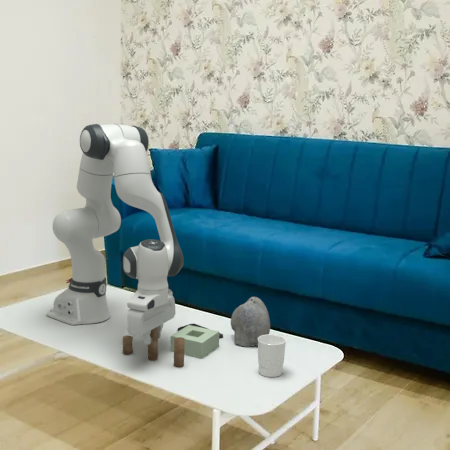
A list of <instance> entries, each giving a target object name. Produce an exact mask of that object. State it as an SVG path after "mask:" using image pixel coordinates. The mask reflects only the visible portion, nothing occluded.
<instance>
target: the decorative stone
mask: <svg viewBox="0 0 450 450" xmlns="http://www.w3.org/2000/svg"><path fill="white" fill-rule="evenodd" d="M230 327H231V329H232V331H233V332H234V343H235V344H236V345H238V346H240V347H243V348H244V347H245V348H249V347H252V346H258V337H260V336H262V335H267V334H270V332H271V320H270V314H269V311H268V308H267V306H266V304H265V303H264V301H262V299H261V298H259V297H257V296H251V297H250V298H248V299H247V301H245V303H243V304H240V305H239V306H238V307H236V308H235V309H234V311H233V312H232V315H231V317H230Z"/></svg>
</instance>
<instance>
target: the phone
mask: <svg viewBox="0 0 450 450" xmlns="http://www.w3.org/2000/svg"><path fill="white" fill-rule="evenodd" d="M188 325H191V326H196V327H201V328H206V329H209V328H207V327H204V326H202V325H199V324H196V323H189V324H185V325H183V326H182V325H181V326H180V327H178V328H177V332H178V331H180V330H181V329H183V328H185V327H186V326H188ZM223 338H224V334H223V333H221V332H219V340H220V339H223Z"/></svg>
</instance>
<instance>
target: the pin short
mask: <svg viewBox="0 0 450 450" xmlns="http://www.w3.org/2000/svg"><path fill="white" fill-rule="evenodd" d="M133 337H134V336H132V335H124V336H122V354H123V355H125V356H130V355H132V354H133V353H134V346H133V345H134V340H133Z"/></svg>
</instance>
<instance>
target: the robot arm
mask: <svg viewBox="0 0 450 450" xmlns="http://www.w3.org/2000/svg"><path fill="white" fill-rule="evenodd" d="M149 141H150V140H149V136H148V133H147V131H146V130H145V129H144V128H142V127H140V126H137V125H127V124H121V123H112V124H108V123H107V124H106V123H105V124H104V123H103V124H98V123H93V124H89V125H86V126H85V127H84V128H83V129H82V131H81V133H80V136H79V147H80V150H81V151H82V155H81V159H80V164H79V168H78V175H77V182H76V183H77V184H76V190H77V192H78V194H80V196H81V197H83V198H84V199H85V206H84V207H80V208H73V209H68V210H65V211H62V212H60V213H57V214H56V215H55V217H54V218H53V220H52V232H53V234H54V236H55V238H56V239H57V240H58V241H60V242H61V243H63V245H64V246H66V248H67V250H68V252H69V255H70V259H71V270H72V271H71V273H72V274H71V275H72V276H71V278H69V279H66V280H65V281H66V284H68V288H66V289H64V290H63V292H61V293H60V294H58V295H57V296H55V298H54V300H53V305H52V308H50V309H49V310H47V312H46V316H47V317H49V318H51V319H54V320H57V321H60V322H63V323H65V324H69V325H71V326H77V325H86V324H90V325H91V324H96V323H97V324H98V323H101V322H105V321H106V320H108V319H110V317H111V314H110V311H109V306H108V300H107V293H106V292H107V277H106V262H105V261H106V258H105V256H104V254H103V253H102V252H101V251H100V250H98V249H96V248H95V247H94V246H95V245H94V244H93V242H94V241H93V239H98V238H99V239H100V238H102V237H103V238H104V237H107V236H110V235H112V234H113V233H116V232H117V231H118V230H120V227H121V224H122V223H121V222H122V217H121V214H120V212H119V210H118V209H117V208H116V207H115V206H114V204H113V201H112V198H111V196H112V195H111V193H112V186H113V185H112V184H113V179H114V187H115V191H116V194H117V197H118V198H119V199H120V200H121V201H122V202H123V203H125V204H126V205H128V206H131V207H133V208H137V209H139V210H143V211H145V212H147V213H148V214H150V216H152V218H153V219H154V221H155V224H156V227H157V232H158V236H159V239H154V238H153V239H152V238H151V239H150V238H149V239H145V240H142V241H140V243H139V244H138V245H136V246H131V247H128V248H127V249H126V251H125V252H124V253H123V255H122V270H123V272H124V274H125V275H127V276H128V277H129V278H131V279H134V280H135V279H136V280H137V281H138V283H137V290H136V291H135V292H134V294H133V295H132V296H131V297H130V298H129V299H128V300H127V302H126V307H127V308H128V309H129V310H128V311H127V323H126V324H127V333H128V334H129V336H132V337H137V338H139V337H142V336H143V338H144V344H145V345H147V346H148V345H149V344H151V343H152V337H150V333H151V330H152V329H154V328H156V327H158V340H159V339H161V336H162V335H161V334H162V330H163V329H164V324H165V323H167V322H168V321H170V320H172V319H174V318H175V317H176V302H175V297H174V296H173V294H174V293H173V291H172V289H170V288H169V283H168V277H175V276H176V275H178V273H180V272H181V270H182V268H183V266H184V263H185V262H184V261H185V259H184V254H183V252H182V248H181V246H180V244H179V242H178V239H177V238H178V237H177V235H176V232H175V228H174V225H173V221H172V220H173V219H172V218H171V217H172V216H171V213H170V209H169V207H168V204H167V201H166V199H165V196H164V194H163V193H162V192H160V191H158V190H157V188H156V186H155V185H154V184H155V183H154V182H153V180H152V175H151V174H152V172H151V166H150V161H149V158H148V154H147V150H148V149H149V145H150V144H149V143H150V142H149Z"/></svg>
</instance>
